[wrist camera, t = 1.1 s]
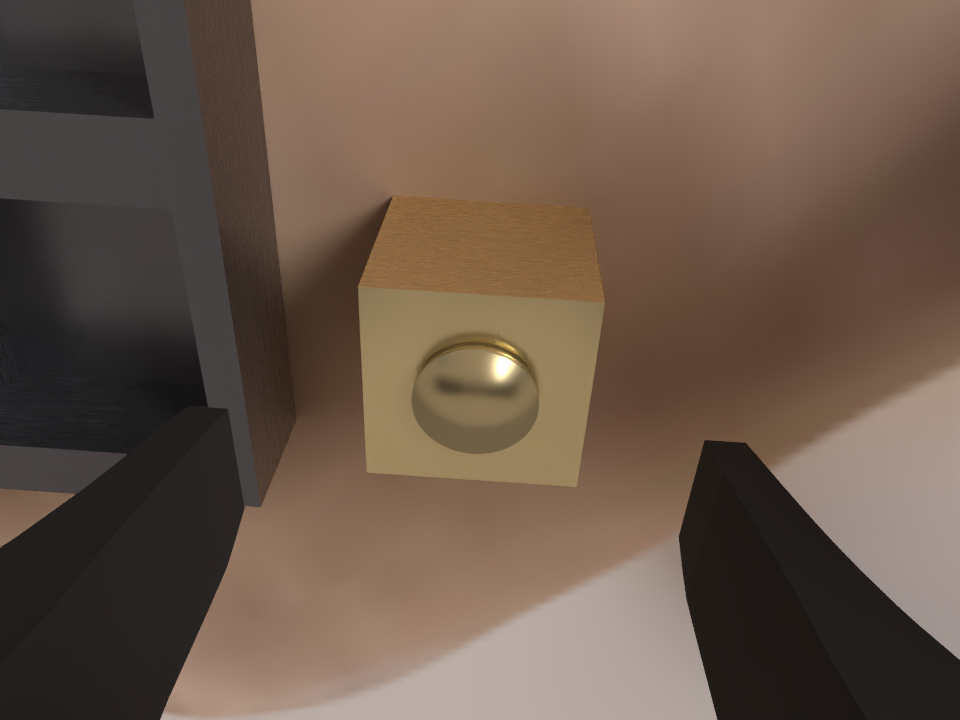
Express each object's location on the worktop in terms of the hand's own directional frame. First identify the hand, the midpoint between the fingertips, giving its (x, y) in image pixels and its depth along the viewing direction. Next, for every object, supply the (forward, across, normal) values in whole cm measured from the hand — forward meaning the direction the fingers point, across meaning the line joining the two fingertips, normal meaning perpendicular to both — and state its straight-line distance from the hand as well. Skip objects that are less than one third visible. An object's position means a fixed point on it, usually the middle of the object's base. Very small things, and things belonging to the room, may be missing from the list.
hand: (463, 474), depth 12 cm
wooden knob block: (+6, 0, 0) cm, 6 cm away
